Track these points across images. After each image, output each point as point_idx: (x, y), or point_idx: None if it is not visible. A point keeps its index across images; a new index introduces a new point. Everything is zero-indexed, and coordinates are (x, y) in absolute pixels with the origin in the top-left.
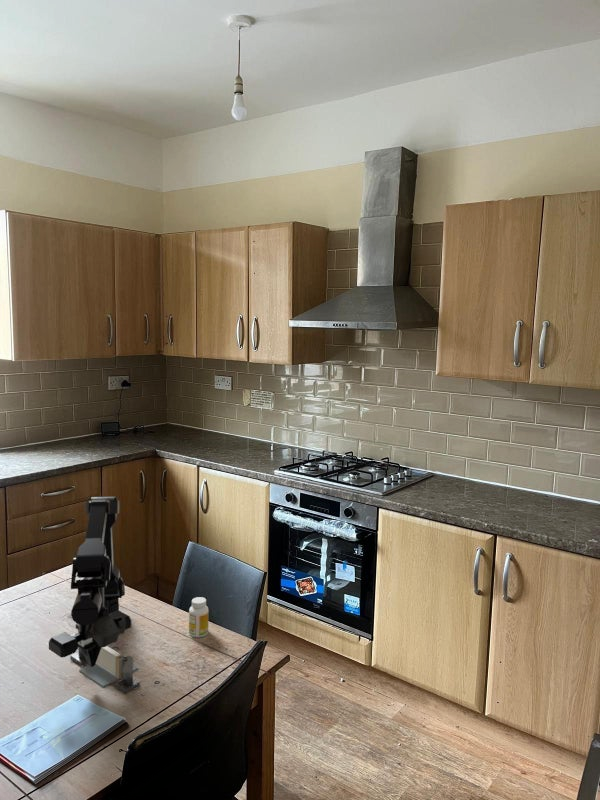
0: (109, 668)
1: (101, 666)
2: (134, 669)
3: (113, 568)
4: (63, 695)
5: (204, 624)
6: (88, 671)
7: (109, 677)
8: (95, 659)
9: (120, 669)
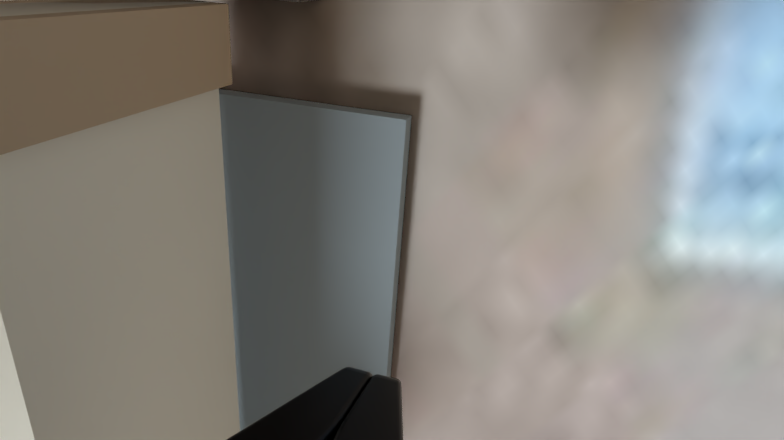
0: (206, 236)
1: None
2: None
3: None
4: (769, 373)
5: None
6: None
7: (271, 180)
8: (295, 434)
9: (120, 9)
